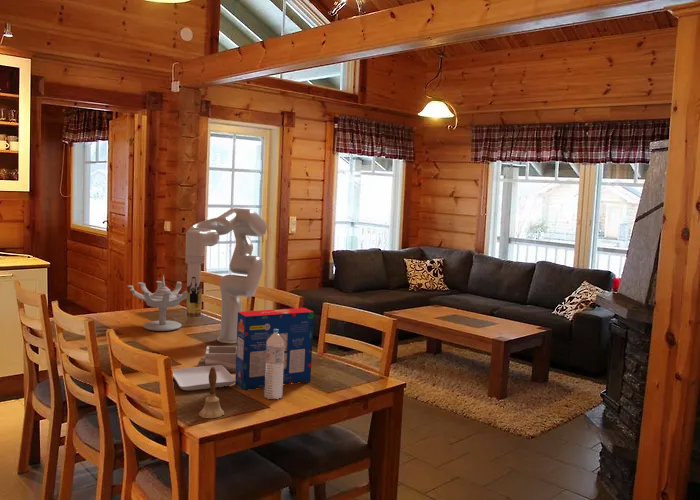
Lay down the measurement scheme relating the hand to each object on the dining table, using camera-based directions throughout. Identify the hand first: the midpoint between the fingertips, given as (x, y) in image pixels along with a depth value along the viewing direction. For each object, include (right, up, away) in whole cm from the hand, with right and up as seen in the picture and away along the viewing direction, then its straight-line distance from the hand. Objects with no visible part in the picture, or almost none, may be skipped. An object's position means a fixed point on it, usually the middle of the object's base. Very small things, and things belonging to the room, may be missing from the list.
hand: (194, 300), depth 272 cm
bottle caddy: (+14, -26, -9) cm, 31 cm away
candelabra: (-28, -18, +50) cm, 60 cm away
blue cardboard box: (+37, -30, -26) cm, 54 cm away
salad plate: (+10, -29, -30) cm, 43 cm away
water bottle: (+39, -32, -42) cm, 65 cm away
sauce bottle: (0, -7, +1) cm, 7 cm away
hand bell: (+21, -33, -61) cm, 73 cm away
